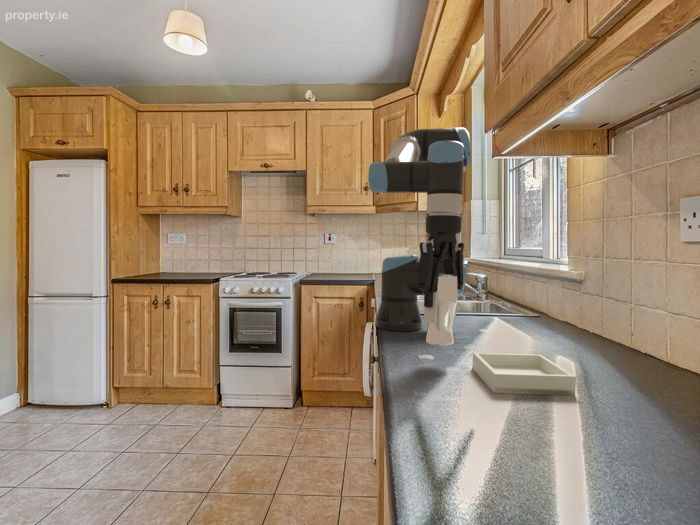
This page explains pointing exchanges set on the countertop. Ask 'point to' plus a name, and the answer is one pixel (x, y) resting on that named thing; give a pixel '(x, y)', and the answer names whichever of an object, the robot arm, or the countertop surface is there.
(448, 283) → the beer glass
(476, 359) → the tray
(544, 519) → the countertop surface
